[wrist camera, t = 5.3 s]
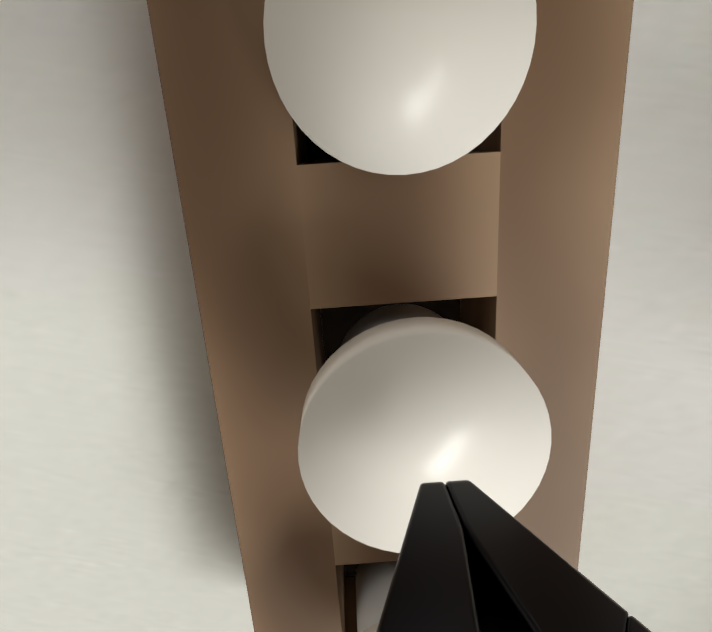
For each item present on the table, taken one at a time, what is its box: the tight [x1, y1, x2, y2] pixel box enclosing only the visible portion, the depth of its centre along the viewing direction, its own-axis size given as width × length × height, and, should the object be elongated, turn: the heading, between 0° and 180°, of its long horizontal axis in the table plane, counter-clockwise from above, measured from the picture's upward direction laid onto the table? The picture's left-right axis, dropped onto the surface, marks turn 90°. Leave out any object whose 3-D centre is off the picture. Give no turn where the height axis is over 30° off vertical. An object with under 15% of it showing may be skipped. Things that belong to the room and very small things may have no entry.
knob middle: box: [298, 304, 551, 553], centre depth 13 cm, size 5×5×4 cm
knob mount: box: [147, 0, 634, 632], centre depth 15 cm, size 10×22×4 cm, turn 4°
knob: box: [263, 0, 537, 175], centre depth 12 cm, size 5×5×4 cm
